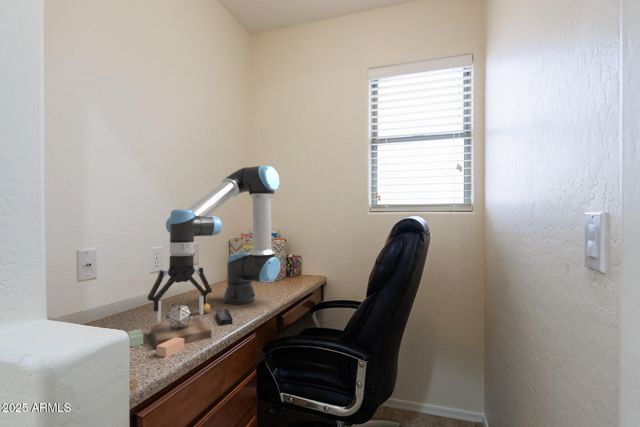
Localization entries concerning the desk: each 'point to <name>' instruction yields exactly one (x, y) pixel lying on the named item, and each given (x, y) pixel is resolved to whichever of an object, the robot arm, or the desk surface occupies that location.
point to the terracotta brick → (170, 347)
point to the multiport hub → (224, 317)
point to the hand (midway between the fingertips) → (180, 317)
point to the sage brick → (135, 337)
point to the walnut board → (181, 332)
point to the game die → (179, 316)
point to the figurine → (206, 306)
